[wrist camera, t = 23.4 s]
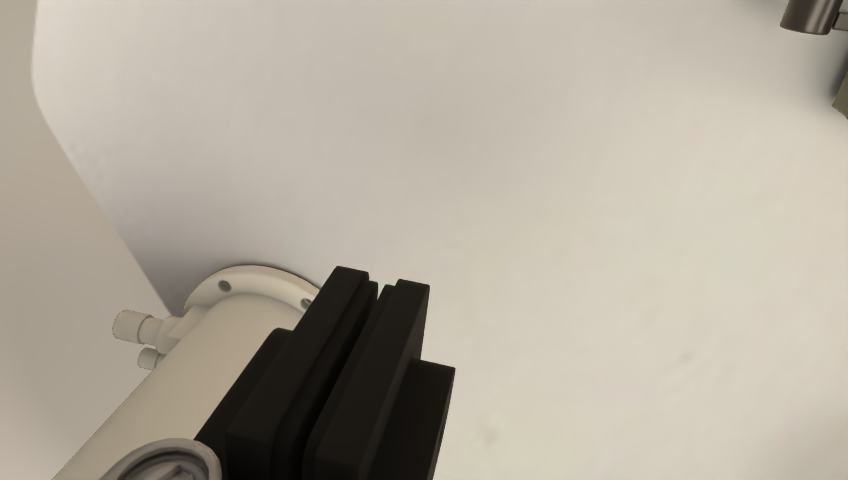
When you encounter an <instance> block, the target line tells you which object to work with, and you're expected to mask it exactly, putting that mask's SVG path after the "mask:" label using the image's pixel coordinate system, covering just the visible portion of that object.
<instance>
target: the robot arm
mask: <svg viewBox="0 0 848 480" xmlns="http://www.w3.org/2000/svg"><path fill="white" fill-rule="evenodd" d="M429 291H430V286H429V285H427V284H422V283H418V282H413V281H408V280H403V279H399V280H398V281H397V283H396V285H395V286H392V285H388V284H386V285H385V286H384V288H383V290H382V292H381V294H380V296H379V298H378V300H377V297H378V283H377V282H374V281H369V274H368V272H365V271H361V270H356V269H351V268H346V267H342V266H337V267H336V268H335V269H334V270H333V272H332V273H331V275H330V276H329V278H328V279H327V281H326V282H325V284H324V285H323V287H322V288H321V290H319V289H317V288H316V287H314V286H313V285H312V284H310V283H309V282H307V281H305V280H303V279H301V278H299V277H297V276H295V275H293V274H291V273H288V272H285V271H281V270H278V269H275V268H271V267H264V266H257V265H245V266H234V267H231V268H227V269H223V270H220V271H218V272H216V273H215V274H213V275H211V276H209V277H208V278H207V279H206V280H204V281H203V282H202V283H201V284H200V285H199V286H198V287H197V288H196V289H195V290H194V291H193V293H192V294H191V295H190V296H189V297H188V299H187V302H186V304H185V306H184V308H183V313H182V318H180V317H176V316H169V317H168V318H166V319H165V320H160V319H156V318H154V317H153V316H151V315H147V314H143V313H138V312H134V311H130V310H124V311H122V312H121V313H120V314H118V316H117V318H116V319H115V321H114V325H113V335H114V336H115V338H117V339H122V340H126V341H130V342H134V343H138V344H145V343H146V344H150V345H154V346H156V349H157V350H155V349H151V348H144V349H143V350H142V351H141V353H140V355H139V358H138V366H139V367H141V368H145V369H149V370H153V371H152V372H151V373H150V374H149V375H148V376H147V377H146V378H145V379H144V380H143V382H142V383H141V384H140V385H139V386H138V387H137V388H136V389H135V390H134V391H133V392H132V393H131V394H130V396H129V397H128V398H127V399H126V400H125V401H124V402H123V403H122V404H121V405H120V406H119V407H118V409H117V410H116V411H115V412H114V413H113V414H112V415H111V416H110V417H109V418H108V419H107V421H105V423H104V424H103V425H102V426H101V427H100V428H99V429H98V430H97V431H96V432H95V433H94V434H93V436H92V437H91V438H90V439H89V440H88V441H87V442H86V443H85V444H84V445H83V446H82V447H81V448H80V450H79V451H78V452H77V453H76V454H75V455H74V456H73V457H72V458H71V459H70V460H69V461H68V463H67V464H66V465H65V466H64V467H63V468H62V469H61V470H60V471H59V472H58V473H57V474H56V476H55V477H54V478H53V479H52V480H433V476H434V472H435V467H436V463H437V459H438V455H439V451H440V447H441V442H442V438H443V433H444V429H445V424H446V419H447V414H448V409H449V404H450V399H451V393H452V387H453V382H454V376H455V368H454V367H450V366H446V365H441V364H437V363H432V362H428V361H424V360H420V358H421V351H422V343H423V336H424V329H425V321H426V314H427V307H428V299H429Z"/></svg>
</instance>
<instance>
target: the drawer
mask: <svg viewBox="0 0 848 480" xmlns="http://www.w3.org/2000/svg"><path fill="white" fill-rule="evenodd" d="M842 2H843V0H789V2H788V5H787V7H786V10H785V12H784V15H783V18H782V20H781V23H780V27H782V28H784V29H788V30H792V31H796V32H802V33H808V34H815V35H827V34H828V33H829V32H830V30H831V29H834V30H841V31H848V12H847V11H840V10H839V9H840V6H841V4H842ZM832 107H834V108H835V109H836V110H838V111H839V112H841V113H842V114H844V115H845V116H847V117H848V71H847V73H846V76H845V78H844V80H843V82H842V84H841V86H840V89H839V91H838V93H837V95H836V97H835V99H834V102H833V104H832Z"/></svg>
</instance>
